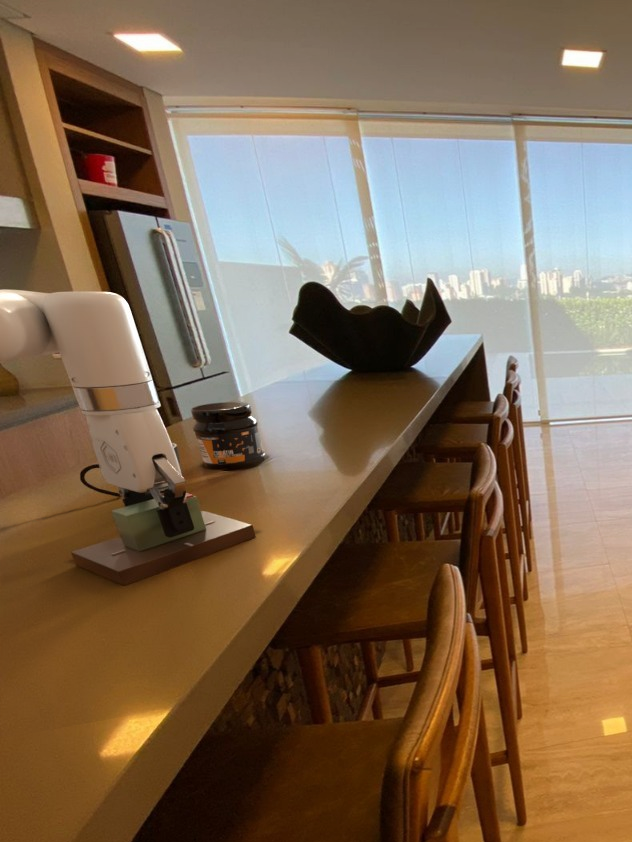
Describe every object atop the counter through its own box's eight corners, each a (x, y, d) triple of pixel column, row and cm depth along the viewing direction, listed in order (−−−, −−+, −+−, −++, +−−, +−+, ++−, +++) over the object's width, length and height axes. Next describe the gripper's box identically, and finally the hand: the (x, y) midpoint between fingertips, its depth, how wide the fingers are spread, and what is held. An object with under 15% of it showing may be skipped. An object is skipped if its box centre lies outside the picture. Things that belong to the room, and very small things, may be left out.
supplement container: (193, 474, 109) (174, 412, 104) (221, 458, 119) (205, 401, 114) (253, 471, 111) (237, 410, 106) (275, 456, 120) (262, 400, 116)
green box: (139, 551, 73) (126, 514, 71) (123, 545, 75) (109, 508, 73) (206, 529, 80) (195, 494, 78) (190, 524, 81) (179, 490, 79)
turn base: (124, 586, 69) (118, 570, 68) (75, 565, 74) (69, 550, 73) (256, 537, 82) (252, 523, 81) (207, 522, 87) (203, 509, 86)
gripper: (46, 397, 70) (97, 526, 77) (118, 410, 63) (167, 551, 70) (119, 387, 77) (160, 508, 83) (192, 399, 70) (230, 529, 76)
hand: (163, 527), depth 77 cm, fingers open, 7 cm apart
